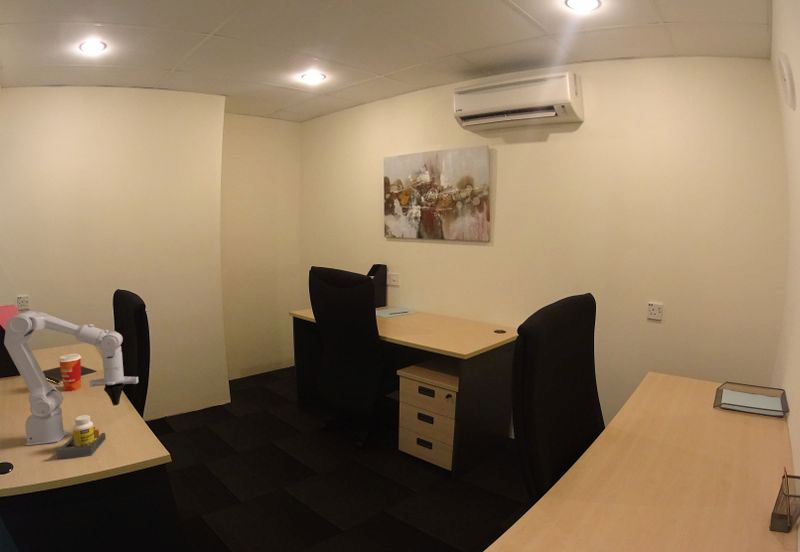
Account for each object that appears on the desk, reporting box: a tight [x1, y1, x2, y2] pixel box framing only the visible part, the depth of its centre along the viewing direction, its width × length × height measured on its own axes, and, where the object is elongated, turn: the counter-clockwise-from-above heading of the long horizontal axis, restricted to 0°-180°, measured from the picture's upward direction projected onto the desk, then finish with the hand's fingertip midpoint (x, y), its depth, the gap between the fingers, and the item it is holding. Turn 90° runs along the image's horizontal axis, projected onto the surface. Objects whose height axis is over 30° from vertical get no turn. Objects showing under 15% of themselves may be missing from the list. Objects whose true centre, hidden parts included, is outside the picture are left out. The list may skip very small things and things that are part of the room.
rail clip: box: [55, 432, 107, 460], centre depth 146 cm, size 10×14×3 cm, turn 14°
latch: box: [93, 426, 102, 439], centre depth 152 cm, size 4×1×3 cm, turn 104°
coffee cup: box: [57, 353, 82, 392], centre depth 197 cm, size 8×8×15 cm
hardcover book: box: [42, 365, 98, 383], centre depth 215 cm, size 16×23×2 cm
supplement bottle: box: [72, 414, 95, 447], centre depth 146 cm, size 5×5×10 cm
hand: (116, 404), depth 157 cm, fingers closed
